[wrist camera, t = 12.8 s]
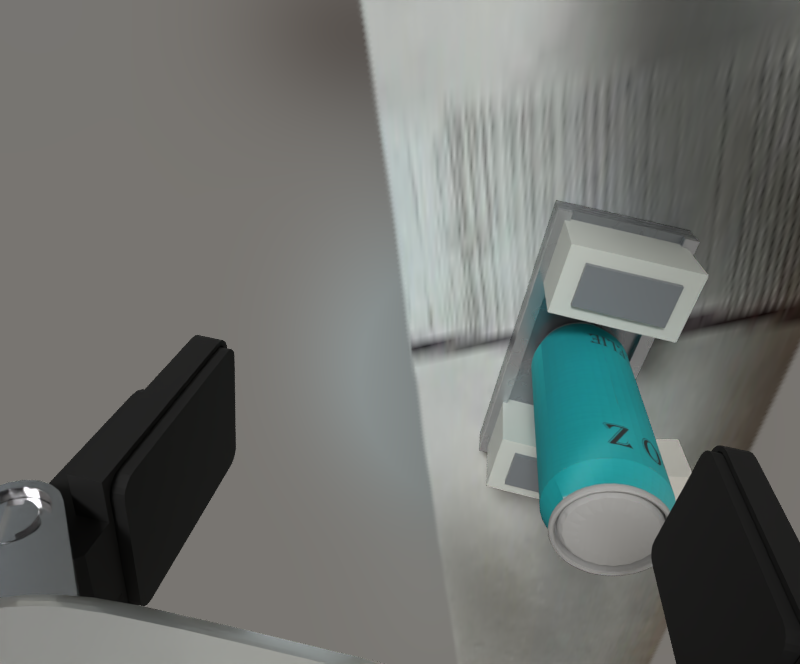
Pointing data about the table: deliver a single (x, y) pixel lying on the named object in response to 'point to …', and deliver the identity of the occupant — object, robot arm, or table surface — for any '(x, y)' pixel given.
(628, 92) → the table surface
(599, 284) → the module
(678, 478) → the block
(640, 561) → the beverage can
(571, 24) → the table surface
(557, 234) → the rail
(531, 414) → the block
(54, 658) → the robot arm
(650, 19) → the table surface
